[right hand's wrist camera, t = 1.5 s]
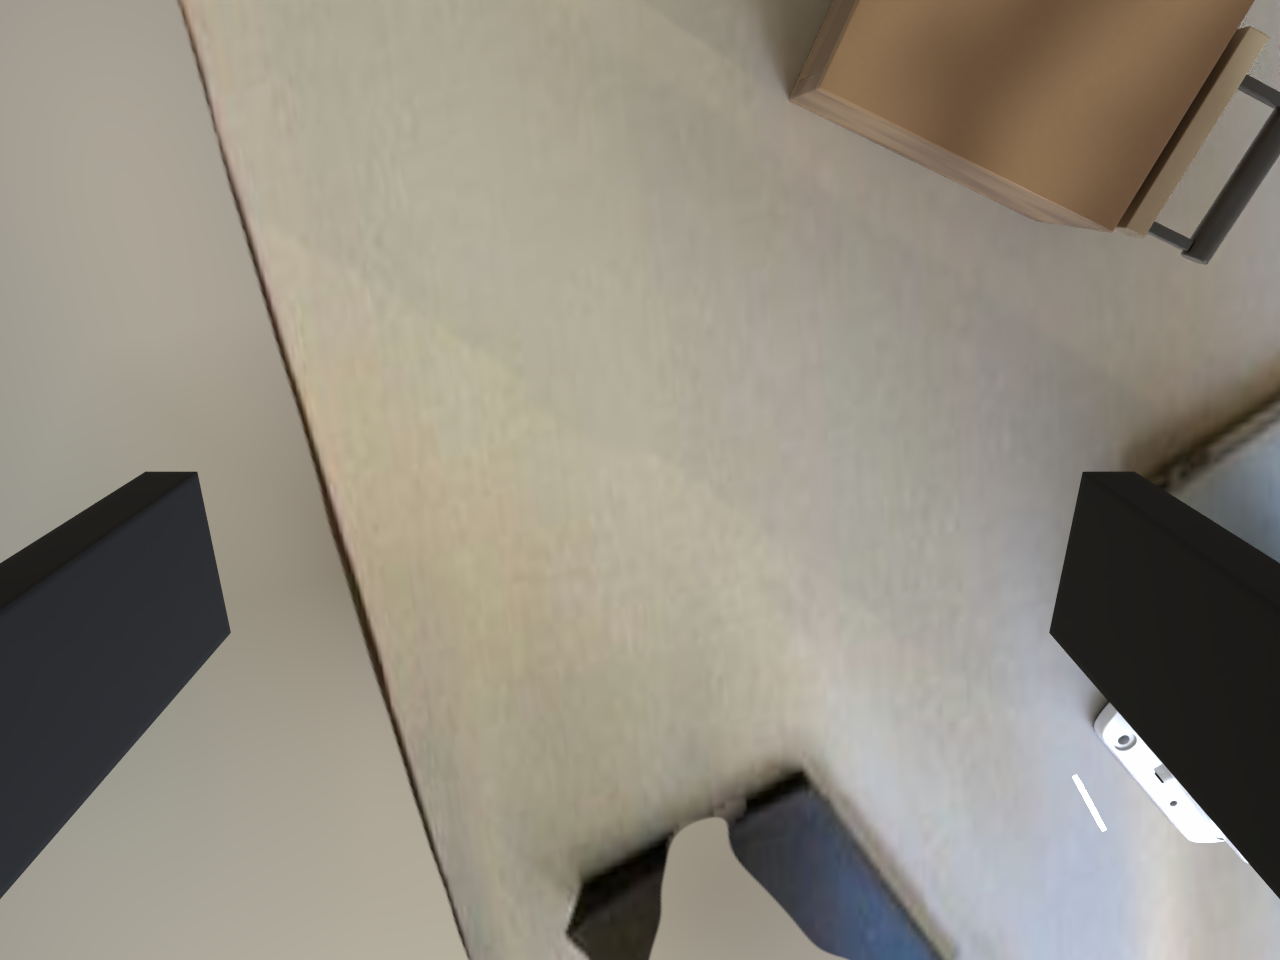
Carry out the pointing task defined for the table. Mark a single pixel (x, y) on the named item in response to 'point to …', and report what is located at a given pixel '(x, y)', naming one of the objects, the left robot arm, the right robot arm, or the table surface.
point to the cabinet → (1021, 91)
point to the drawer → (1189, 138)
